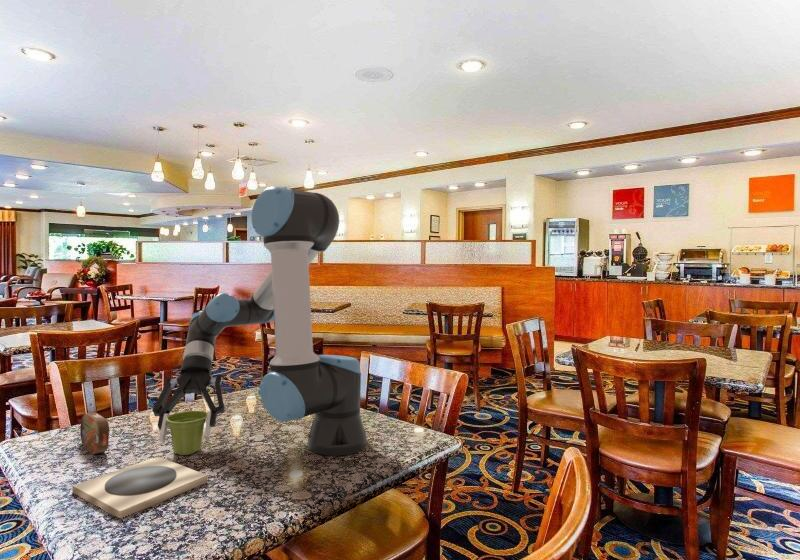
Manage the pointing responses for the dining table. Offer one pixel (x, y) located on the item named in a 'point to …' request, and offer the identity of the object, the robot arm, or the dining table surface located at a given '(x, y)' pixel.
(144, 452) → the dining table surface
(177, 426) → the plant pot
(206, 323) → the robot arm
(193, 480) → the serving board
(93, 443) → the tin
